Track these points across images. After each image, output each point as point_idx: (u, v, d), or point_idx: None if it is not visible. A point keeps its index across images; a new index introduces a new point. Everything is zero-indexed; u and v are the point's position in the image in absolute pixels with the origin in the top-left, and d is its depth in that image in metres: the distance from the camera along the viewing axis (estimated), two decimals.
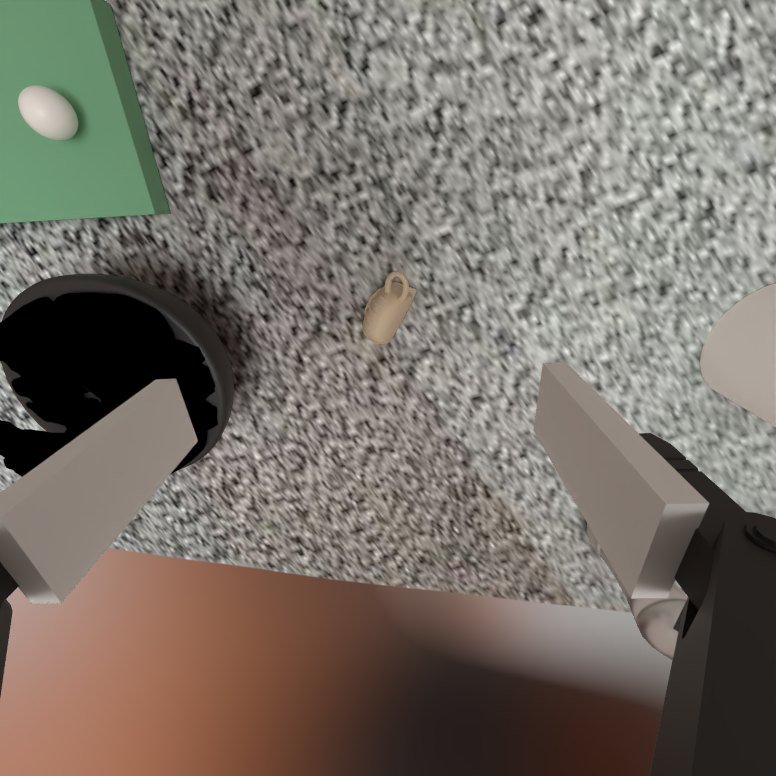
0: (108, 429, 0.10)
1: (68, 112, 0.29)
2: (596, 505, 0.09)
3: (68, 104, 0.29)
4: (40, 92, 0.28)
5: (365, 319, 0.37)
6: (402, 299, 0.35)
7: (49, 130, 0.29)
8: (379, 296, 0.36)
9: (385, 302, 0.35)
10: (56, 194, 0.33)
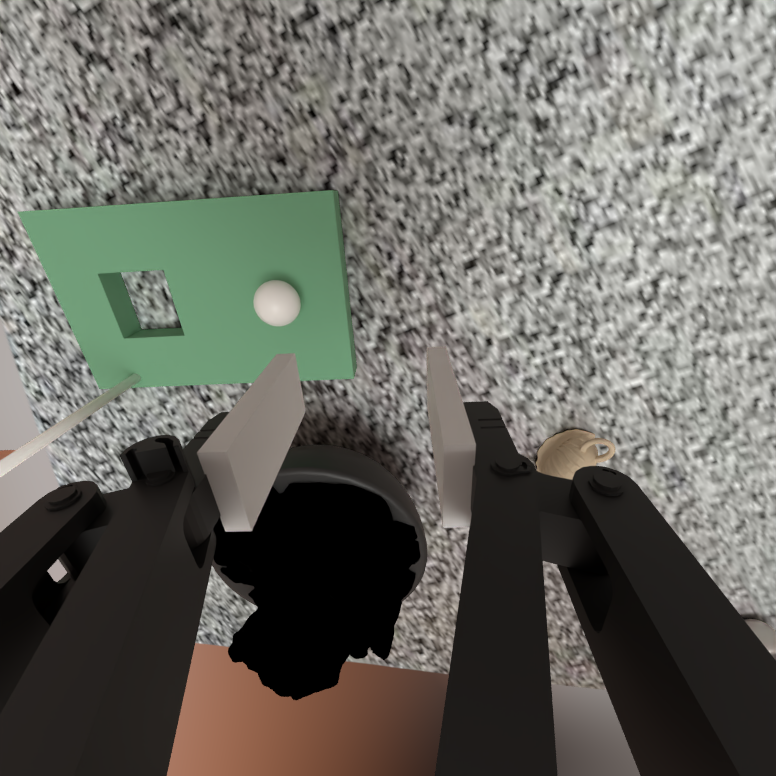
0: (265, 390, 0.12)
1: (298, 303, 0.28)
2: (436, 459, 0.11)
3: (297, 294, 0.28)
4: (280, 292, 0.27)
5: (554, 473, 0.36)
6: (601, 461, 0.34)
7: (281, 323, 0.28)
8: (573, 454, 0.35)
9: (583, 464, 0.34)
10: (256, 361, 0.33)
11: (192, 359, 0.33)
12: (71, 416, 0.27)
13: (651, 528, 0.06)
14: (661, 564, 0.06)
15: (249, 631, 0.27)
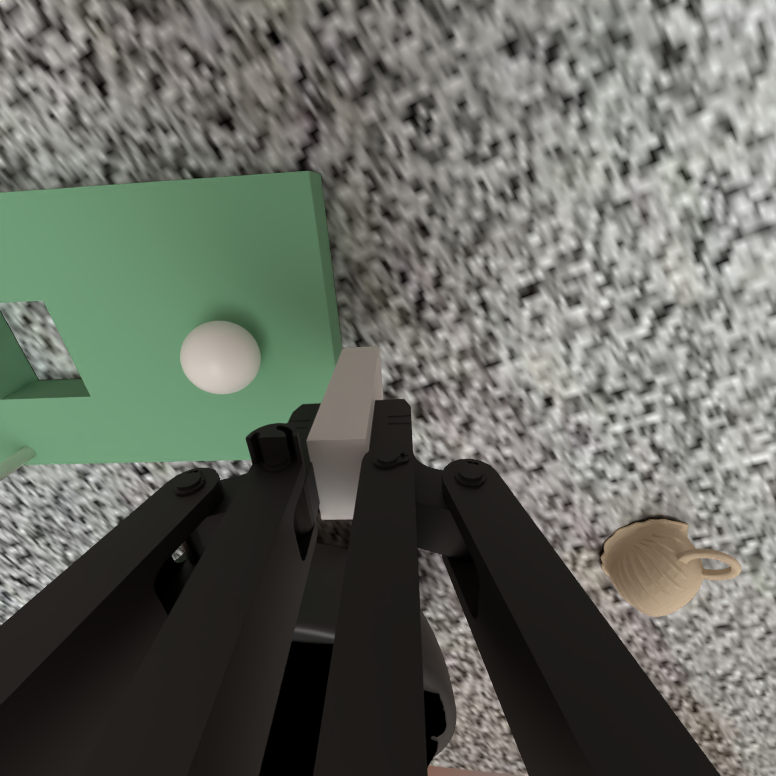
0: (348, 382, 0.12)
1: (255, 358, 0.17)
2: None
3: (254, 343, 0.17)
4: (222, 343, 0.16)
5: (637, 587, 0.25)
6: (713, 579, 0.23)
7: (226, 392, 0.17)
8: (668, 564, 0.24)
9: (686, 582, 0.23)
10: (201, 432, 0.22)
11: (107, 428, 0.22)
12: None
13: (507, 511, 0.07)
14: (514, 544, 0.06)
15: None
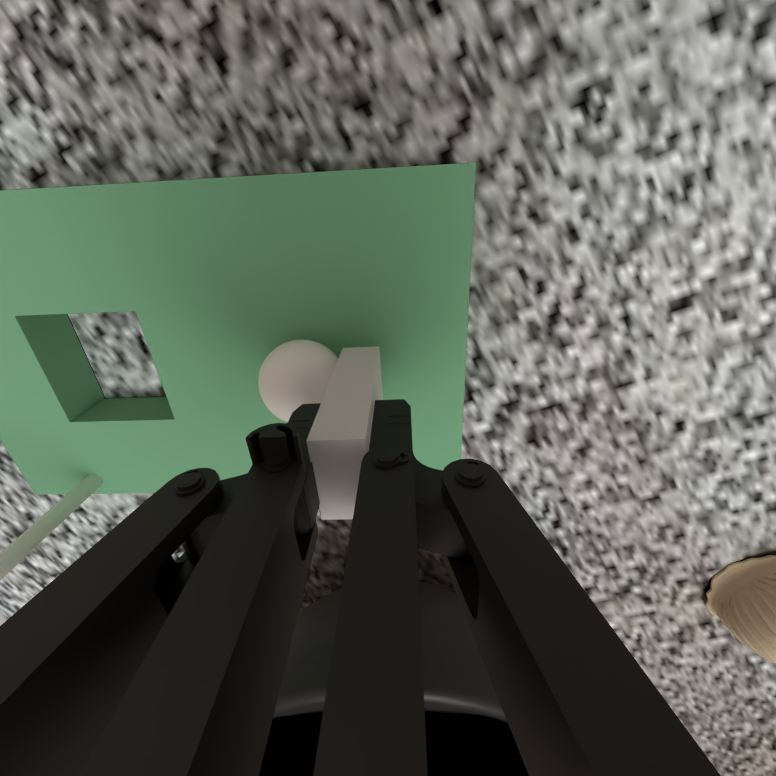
0: (348, 382, 0.12)
1: (310, 402, 0.14)
2: None
3: (319, 383, 0.14)
4: (276, 372, 0.14)
5: (764, 632, 0.23)
6: None
7: (284, 420, 0.15)
8: None
9: None
10: None
11: (188, 455, 0.19)
12: None
13: (507, 511, 0.07)
14: (514, 544, 0.06)
15: None
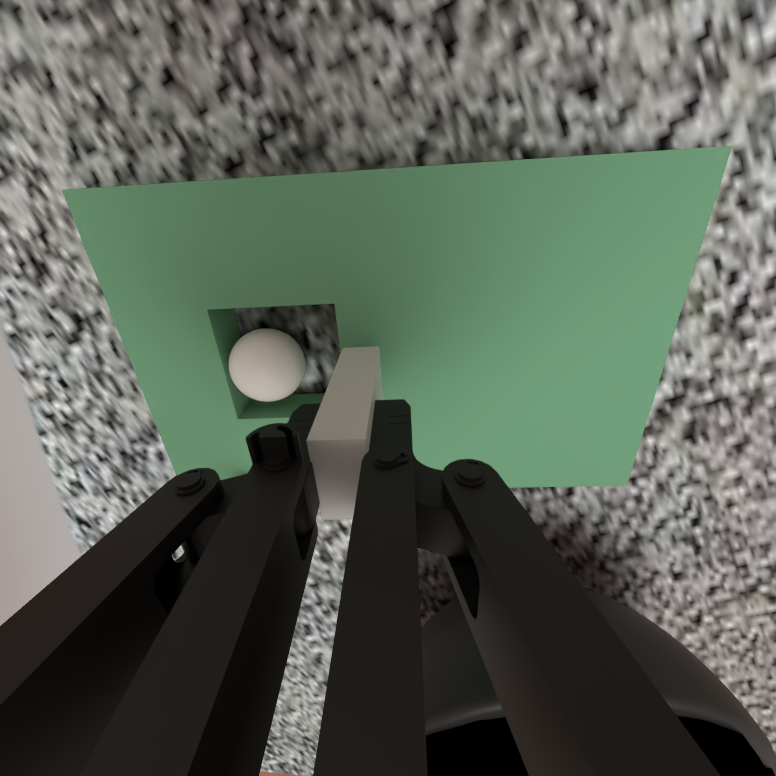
0: (348, 382, 0.12)
1: (251, 382, 0.16)
2: None
3: (260, 368, 0.16)
4: (234, 351, 0.17)
5: None
6: None
7: None
8: None
9: None
10: (464, 457, 0.19)
11: None
12: None
13: (507, 511, 0.07)
14: (514, 544, 0.06)
15: None
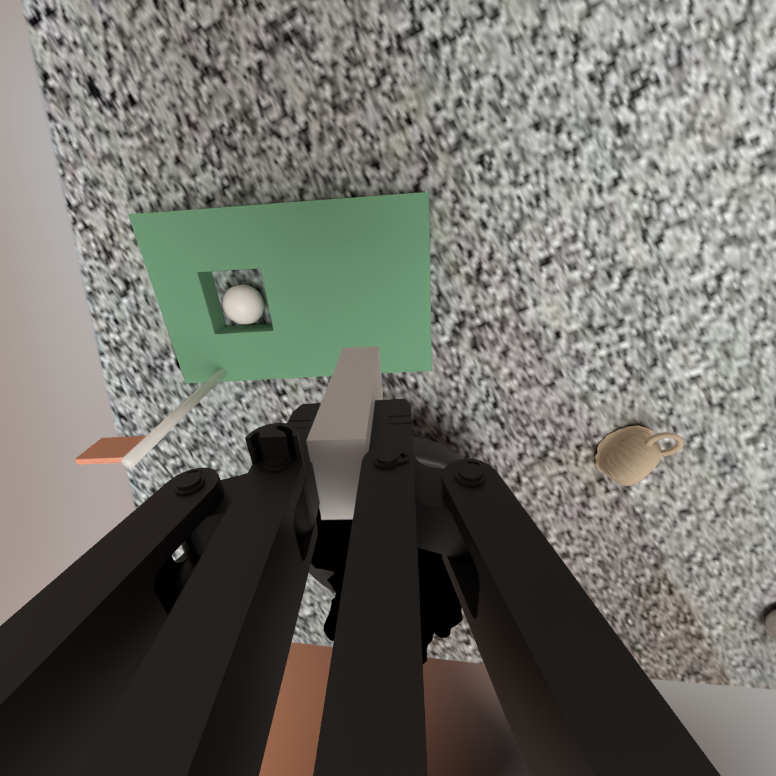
0: (348, 382, 0.12)
1: (249, 310, 0.32)
2: None
3: (252, 301, 0.32)
4: (232, 297, 0.32)
5: (619, 466, 0.38)
6: (667, 455, 0.36)
7: (236, 322, 0.33)
8: (639, 447, 0.37)
9: (650, 457, 0.36)
10: (339, 354, 0.34)
11: (278, 353, 0.35)
12: (182, 406, 0.29)
13: (507, 511, 0.07)
14: (514, 544, 0.06)
15: None
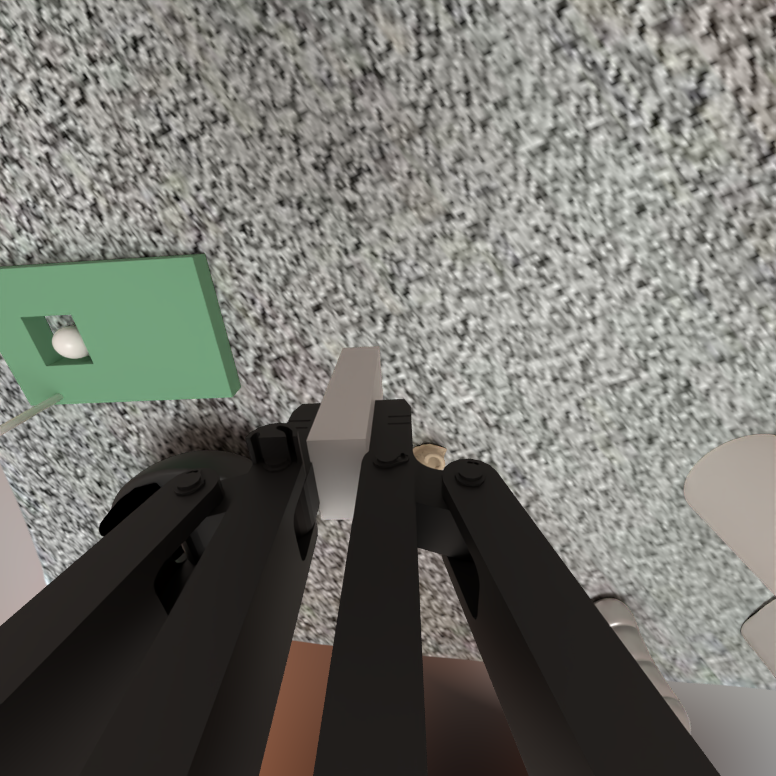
0: (348, 382, 0.12)
1: (80, 347, 0.39)
2: None
3: (82, 340, 0.39)
4: (61, 338, 0.38)
5: None
6: None
7: (69, 357, 0.40)
8: None
9: None
10: (153, 383, 0.41)
11: (102, 382, 0.41)
12: None
13: (507, 511, 0.07)
14: (514, 544, 0.06)
15: None
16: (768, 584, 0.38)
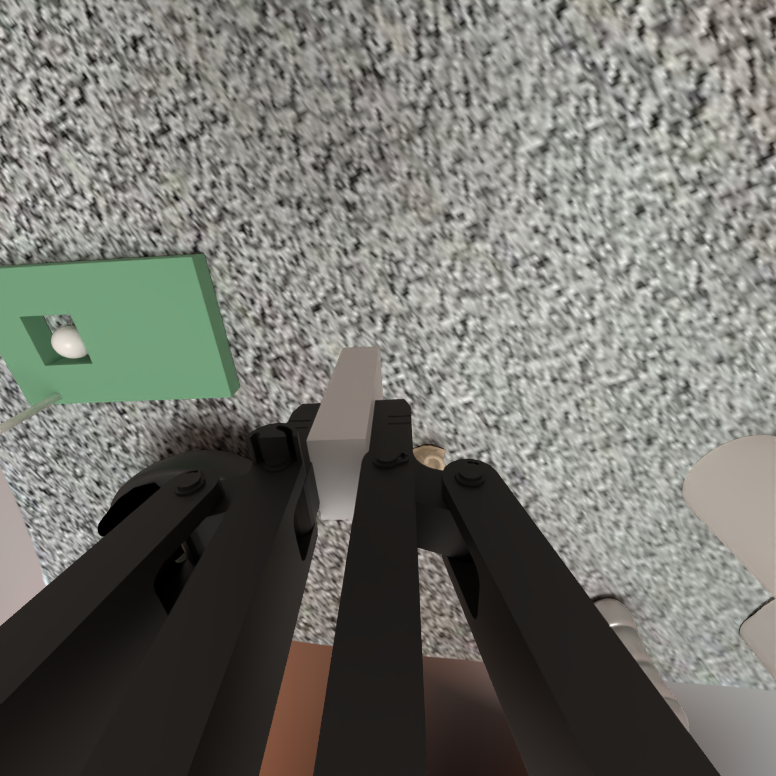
0: (348, 382, 0.12)
1: (79, 346, 0.39)
2: None
3: (81, 339, 0.39)
4: (60, 338, 0.38)
5: None
6: None
7: (68, 357, 0.40)
8: None
9: None
10: (152, 383, 0.41)
11: (101, 381, 0.41)
12: None
13: (507, 511, 0.07)
14: (514, 544, 0.06)
15: None
16: (766, 585, 0.38)
